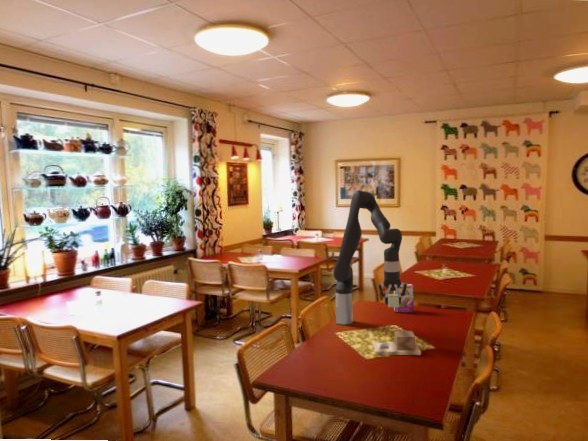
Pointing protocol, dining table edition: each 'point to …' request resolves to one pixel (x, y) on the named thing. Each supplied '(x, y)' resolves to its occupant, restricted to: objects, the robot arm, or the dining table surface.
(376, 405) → the dining table surface
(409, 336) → the walnut base block
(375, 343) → the birch board
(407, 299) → the candy bar box
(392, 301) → the sage cube
